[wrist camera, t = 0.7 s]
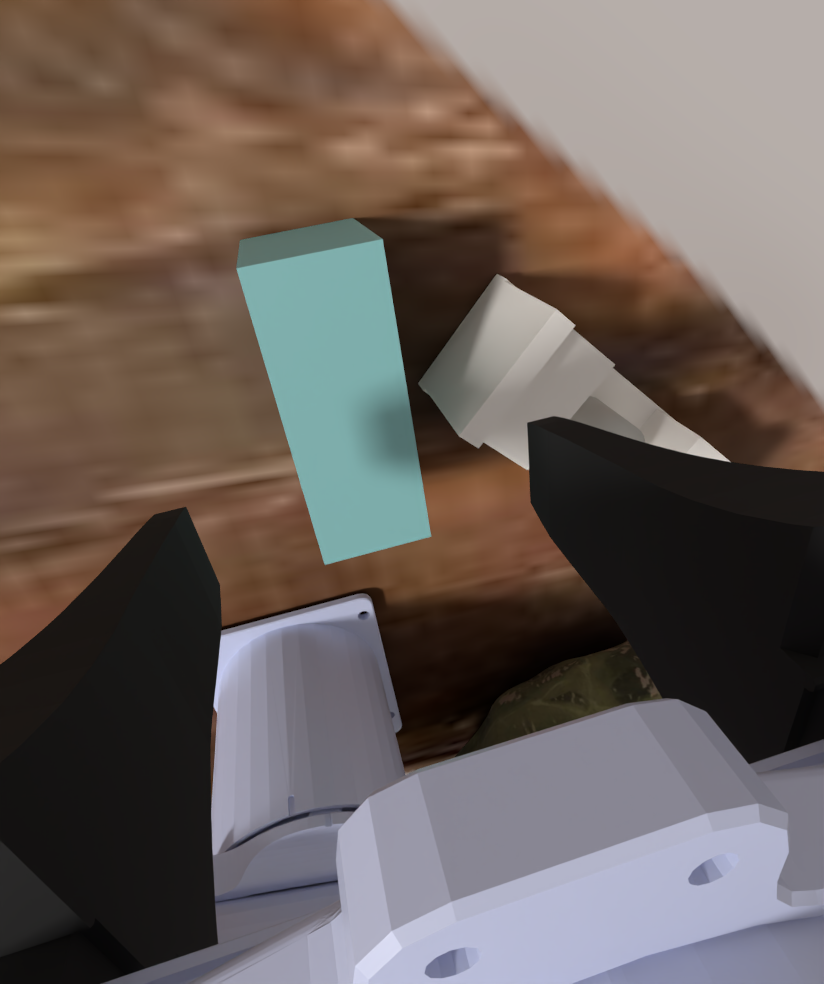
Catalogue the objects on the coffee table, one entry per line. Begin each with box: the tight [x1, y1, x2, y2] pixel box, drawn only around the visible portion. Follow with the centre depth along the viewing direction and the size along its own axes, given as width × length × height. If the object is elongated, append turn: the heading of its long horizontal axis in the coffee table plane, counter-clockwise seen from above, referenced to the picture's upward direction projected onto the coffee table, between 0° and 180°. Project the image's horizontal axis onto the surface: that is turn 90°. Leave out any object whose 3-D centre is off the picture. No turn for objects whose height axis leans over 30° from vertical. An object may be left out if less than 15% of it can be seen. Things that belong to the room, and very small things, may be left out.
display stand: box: [418, 274, 730, 470], centre depth 21 cm, size 12×5×5 cm, turn 53°
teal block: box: [237, 218, 431, 565], centre depth 18 cm, size 9×4×5 cm, turn 9°
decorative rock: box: [455, 640, 662, 757], centre depth 29 cm, size 15×16×10 cm
